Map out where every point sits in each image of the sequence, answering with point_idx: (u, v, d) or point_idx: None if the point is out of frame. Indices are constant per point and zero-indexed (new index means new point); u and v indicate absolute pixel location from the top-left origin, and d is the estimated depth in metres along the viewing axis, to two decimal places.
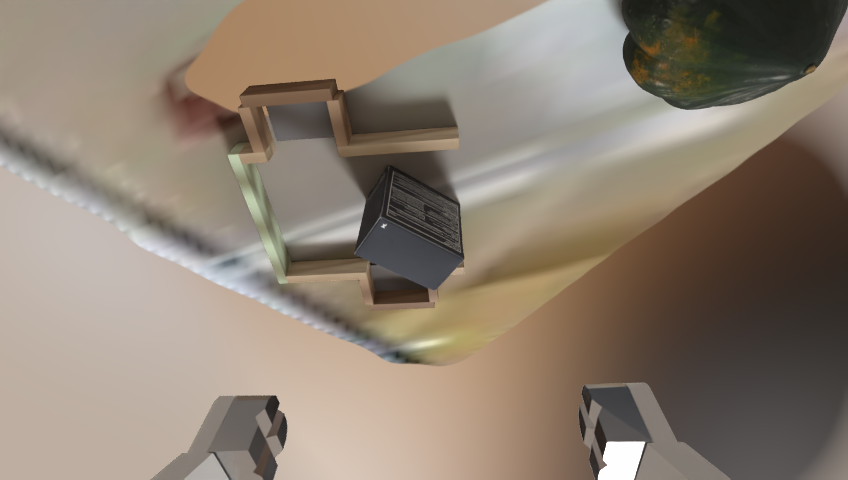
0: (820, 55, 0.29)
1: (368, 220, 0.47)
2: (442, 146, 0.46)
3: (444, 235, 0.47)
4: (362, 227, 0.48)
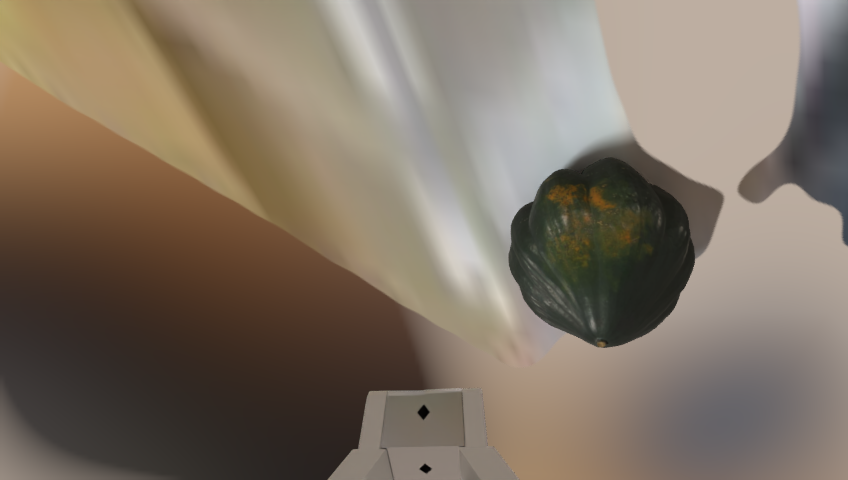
0: (611, 345, 0.31)
1: None
2: None
3: None
4: None
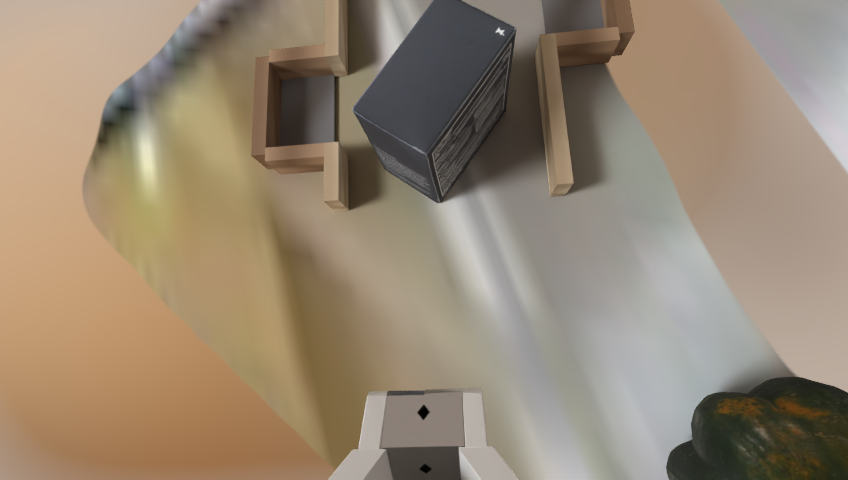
0: None
1: None
2: (560, 162, 0.33)
3: (453, 137, 0.29)
4: None
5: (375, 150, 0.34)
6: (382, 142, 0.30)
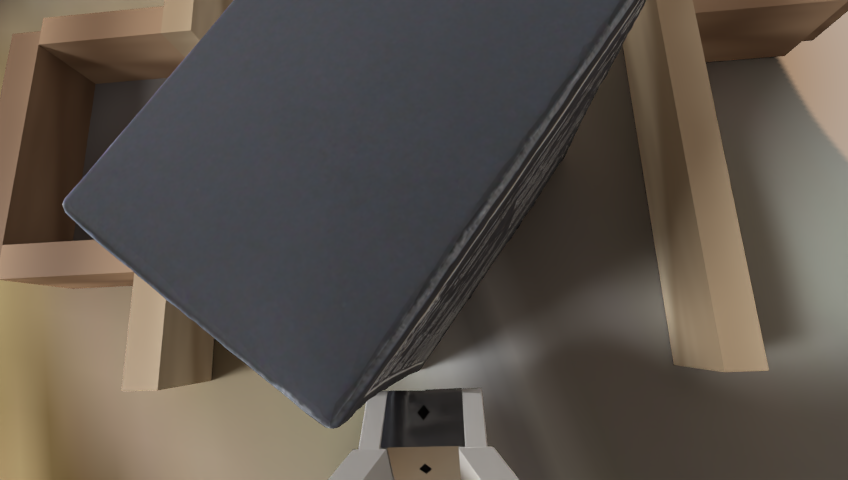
0: None
1: None
2: (727, 309, 0.13)
3: (449, 291, 0.08)
4: None
5: None
6: None
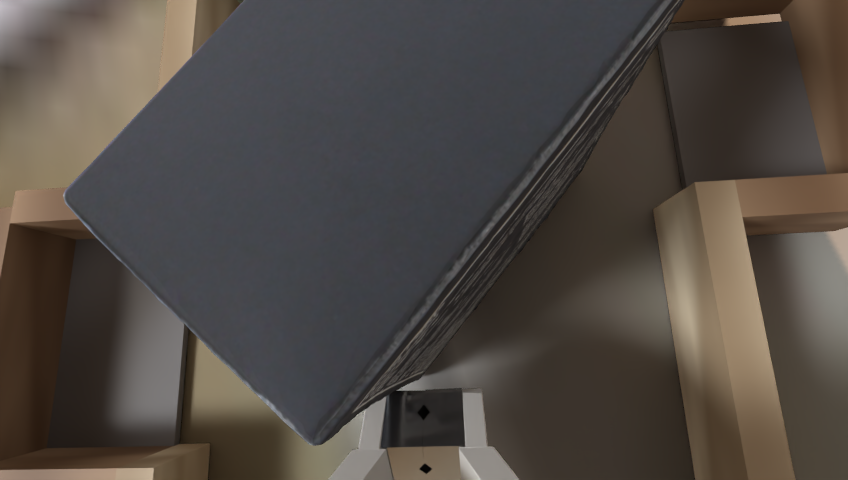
0: None
1: None
2: None
3: (450, 307, 0.08)
4: None
5: None
6: None
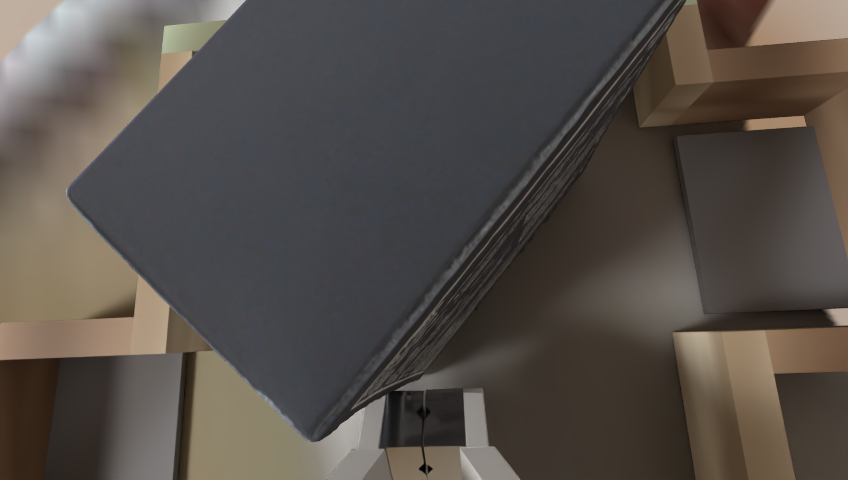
0: None
1: None
2: None
3: (448, 306, 0.08)
4: None
5: None
6: None
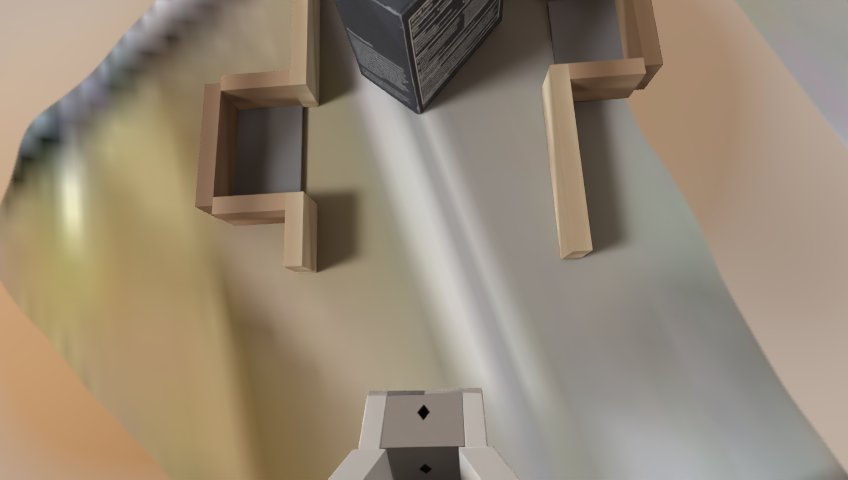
0: None
1: None
2: (575, 223, 0.27)
3: (435, 12, 0.25)
4: None
5: (350, 40, 0.30)
6: (355, 16, 0.26)
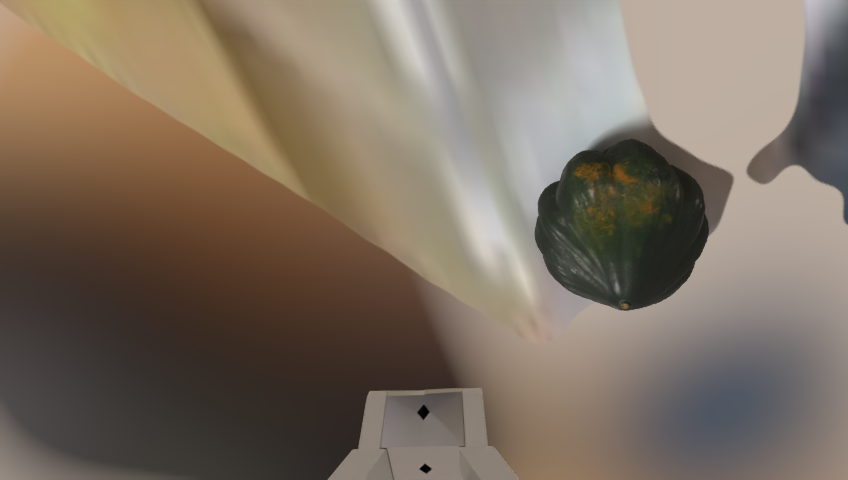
0: (633, 307, 0.34)
1: None
2: None
3: None
4: None
5: None
6: None
